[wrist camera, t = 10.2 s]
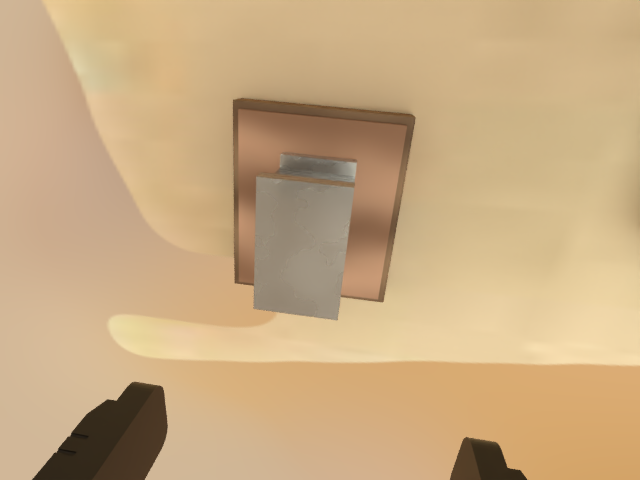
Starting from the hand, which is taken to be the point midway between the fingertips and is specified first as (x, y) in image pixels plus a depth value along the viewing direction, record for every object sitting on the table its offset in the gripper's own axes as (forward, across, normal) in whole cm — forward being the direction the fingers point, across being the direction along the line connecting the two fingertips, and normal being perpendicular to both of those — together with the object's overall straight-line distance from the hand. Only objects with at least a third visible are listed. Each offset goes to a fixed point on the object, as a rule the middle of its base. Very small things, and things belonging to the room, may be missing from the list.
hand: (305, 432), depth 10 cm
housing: (+18, +2, 0) cm, 19 cm away
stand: (+21, +2, +1) cm, 21 cm away
